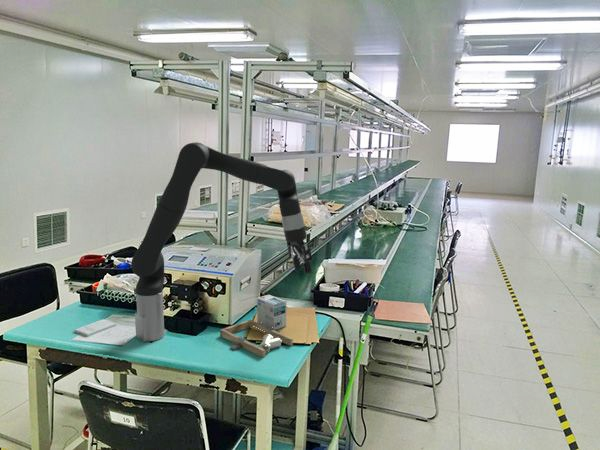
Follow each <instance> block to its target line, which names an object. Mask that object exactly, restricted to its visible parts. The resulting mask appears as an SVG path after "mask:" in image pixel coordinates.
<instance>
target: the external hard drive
mask: <svg viewBox="0 0 600 450" xmlns="http://www.w3.org/2000/svg"><path fill="white" fill-rule="evenodd" d="M114 327H117V323H116V322H114V321H111V320H109V319H108V320H107V319H106V318H105V319H100V320H98V321H94V322H92V323H89V324H86V325H83V326H81V327H78V328H75V329H73V330H74V332H75V333H77V334H80V335H82V336H85V337H91V336H94V335H95V334H98V333H102V332H104V331H106V330H109V329H111V328H114Z"/></svg>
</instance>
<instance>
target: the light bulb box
mask: <svg viewBox="0 0 600 450" xmlns="http://www.w3.org/2000/svg"><path fill="white" fill-rule="evenodd" d="M256 300H257V303H256V305H257V307H256V310H257V312H256V313H257V314H256V315H257V316H256V317H257V318H256V319H257V321H256V322H257V323H259V324H261V325H264V326H266V327H270V328H272V327H273V328H272V329H273V330H275V329H276V330H279V329H283V328H285V327H287V300H284V299H281V298H280V297H276V296H274V295H271V294H266V295H262V296H259V297H257V298H256ZM261 322H262V323H261Z"/></svg>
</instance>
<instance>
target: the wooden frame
mask: <svg viewBox="0 0 600 450" xmlns="http://www.w3.org/2000/svg"><path fill="white" fill-rule="evenodd" d="M253 326H255V327H253ZM256 327H257V328H256ZM250 328H251V329H253V330H255V331H257V332H259V333H261V334H263V335H267V334H270V335H272V336H273V338H279V339H280V340H281V341H282V343H283V344H285V345H288V346H290V347H292V346H293V345H294V339H293V337H290V336H288V335H285V334H283V333H281V332H280V333H279V332H277V331H275V330H271V331H270V330H268V329H266V326H264V325H261V324H259V323H257V321H255V320H252V319H248V320H245V321H242V322H239V323H236V324H233V325H230V326H227V327H224V328H222V329H220V332H219V334H220V337H221V338H223V339H226V340H228V341H229V342H232V343H233V344H234V345H235V344H237V343H239V344H241V345H242V349H245V350H247V351H249V352H250V353H253V354H254V355H256V356H258V357H260V358H265V357H266V353H265V350H264V349H262V348H260V346H258V345H256V344H254V343H252V342H250V341H248V340H244V341H242V340H240V339H238V337H239V336H238V335H237V334H234V333H237V332H241V331H242V330H243V331H244V330H246V329H250ZM258 328H259V329H258ZM260 329H261V330H260ZM262 330H263V331H262ZM264 331H265V332H264Z"/></svg>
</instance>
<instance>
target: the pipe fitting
mask: <svg viewBox="0 0 600 450" xmlns="http://www.w3.org/2000/svg"><path fill="white" fill-rule="evenodd" d="M282 343H283V342H282V341H281V340H280V339H279V338H273V336H272V335H270V334H267V335H265V334H263V337H262V342H261V343H260V344H259V347H260V348H262V349H264V350H265V354H267V353H269V352H271V350H272V349H275V348H279V347H281V346H282Z"/></svg>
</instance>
